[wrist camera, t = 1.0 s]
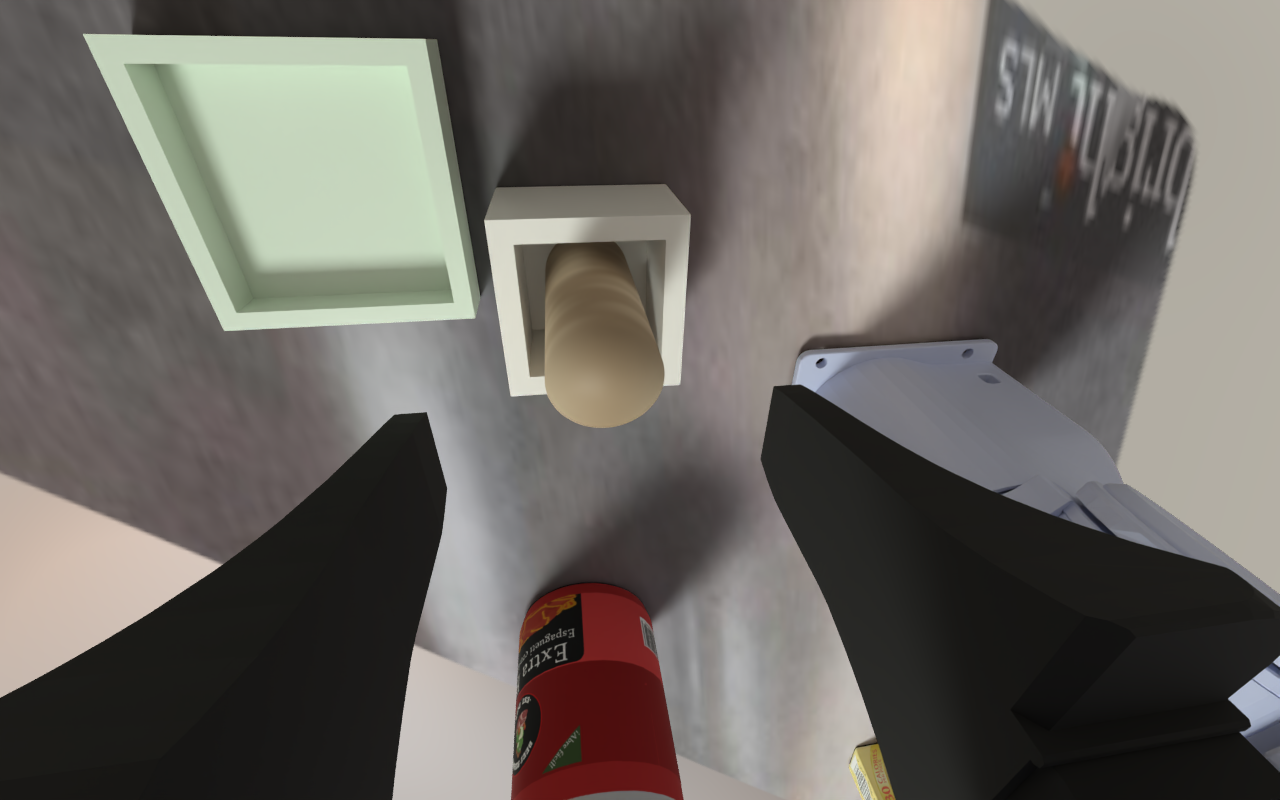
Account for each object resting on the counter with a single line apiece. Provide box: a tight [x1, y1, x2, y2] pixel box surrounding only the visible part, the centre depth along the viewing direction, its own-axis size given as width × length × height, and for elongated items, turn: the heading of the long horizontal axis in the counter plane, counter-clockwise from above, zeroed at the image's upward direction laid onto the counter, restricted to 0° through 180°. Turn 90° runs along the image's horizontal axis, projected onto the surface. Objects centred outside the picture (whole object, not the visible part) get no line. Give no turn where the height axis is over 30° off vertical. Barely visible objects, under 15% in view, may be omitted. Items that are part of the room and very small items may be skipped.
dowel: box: [545, 241, 665, 428], centre depth 16 cm, size 3×3×8 cm
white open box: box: [484, 184, 691, 396], centre depth 18 cm, size 6×6×4 cm
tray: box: [83, 34, 481, 331], centre depth 16 cm, size 8×8×2 cm
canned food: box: [511, 583, 683, 800], centre depth 27 cm, size 8×8×11 cm
